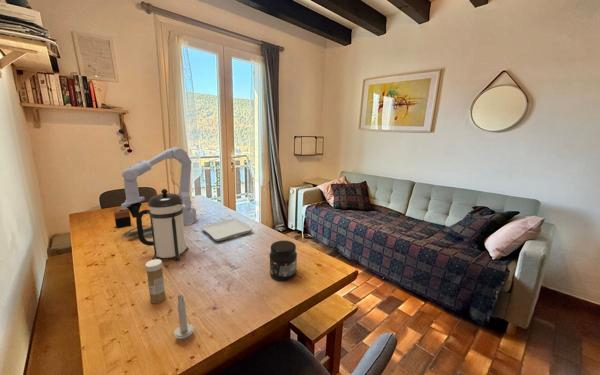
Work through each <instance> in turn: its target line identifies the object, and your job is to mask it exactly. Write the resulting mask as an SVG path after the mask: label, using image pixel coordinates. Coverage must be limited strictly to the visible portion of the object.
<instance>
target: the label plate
mask: <svg viewBox="0 0 600 375" xmlns="http://www.w3.org/2000/svg"><path fill="white" fill-rule="evenodd" d="M149 226H150V225H142V227H143V228H145V227H149ZM134 230H137V226H136V227H134V228H131V229H130V230H129V231H127V232H131V231H134ZM127 232H124V233H123V234H121V236H122V238H138V239H139V237H138V235H135V236H131V237H129V236H128V235H127ZM143 234H144V238H145V239H146V238H147V239H153V236H152V231H149V232H145V233H143Z"/></svg>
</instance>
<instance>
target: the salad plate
mask: <svg viewBox="0 0 600 375" xmlns="http://www.w3.org/2000/svg"><path fill="white" fill-rule="evenodd" d="M200 229H201V230H202V231H204V232H205V233H206V234H208V235H209V236H210V237H211V238H212V239H213V240H214V241H215V242H222V241H224V240H229V239H232V238H236V237H238V236H242V235H245V234H248V233H251V231H253V229H254V228H253V227H251V226H250V225H248V224H246V223H245V222H243V221H241V220H240V219H239V218H236V217H234V218H229V219H224V220H221V221H217V222H216V221H215V222H212V223H209V224H205V225H201V226H200Z"/></svg>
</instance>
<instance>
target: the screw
mask: <svg viewBox="0 0 600 375" xmlns="http://www.w3.org/2000/svg"><path fill="white" fill-rule="evenodd" d="M184 299H185V298H184V295H183V294H179V295H177V303H178V304H177V315H178V322H179V323H178V324H179V326H178V327H176V329H174V332H173V336H174V338H176V339H179V341H183V342H184V341H186V340H188V339H190V336H191V335H192V334H193V333H194V331H195V326H194V325H193V324H191V323H188V319H187V309H186V308H187V307H186V303H185V300H184Z"/></svg>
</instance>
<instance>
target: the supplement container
mask: <svg viewBox="0 0 600 375" xmlns="http://www.w3.org/2000/svg"><path fill="white" fill-rule="evenodd" d="M297 257H298V253H297V245H296V243H294V242H292V241H289V240H278V241H275V242H273V243H272V244H271V245H270V252H269V274H270V277H271V278H273V279H274V280H277V281H281V282H282V281H284V282H285V281H289V280H291V279H293V278H294V277H295V276H296V275H297V273H298V272H297V271H298V270H297V268H298V267H297V263H298V262H297V260H298V258H297Z"/></svg>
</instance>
